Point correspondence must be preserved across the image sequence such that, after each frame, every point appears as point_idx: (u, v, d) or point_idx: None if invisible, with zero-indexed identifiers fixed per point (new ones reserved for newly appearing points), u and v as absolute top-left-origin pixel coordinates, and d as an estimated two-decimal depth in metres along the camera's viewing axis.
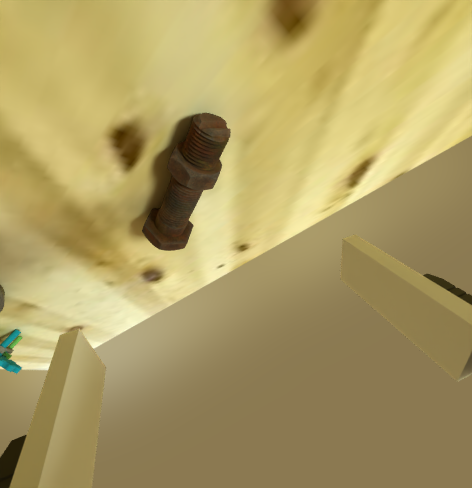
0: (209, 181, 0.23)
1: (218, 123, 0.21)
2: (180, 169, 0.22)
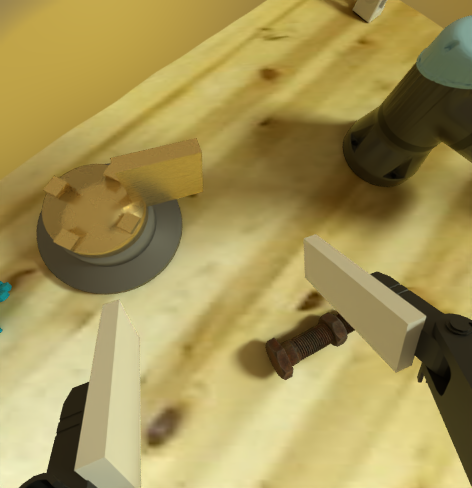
0: (343, 332, 0.39)
1: None
2: (332, 317, 0.40)
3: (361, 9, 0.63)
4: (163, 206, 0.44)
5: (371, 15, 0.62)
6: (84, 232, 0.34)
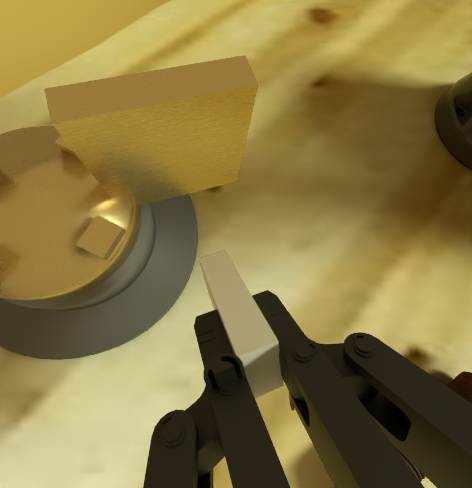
0: None
1: None
2: None
3: None
4: (167, 205, 0.27)
5: None
6: (10, 256, 0.17)
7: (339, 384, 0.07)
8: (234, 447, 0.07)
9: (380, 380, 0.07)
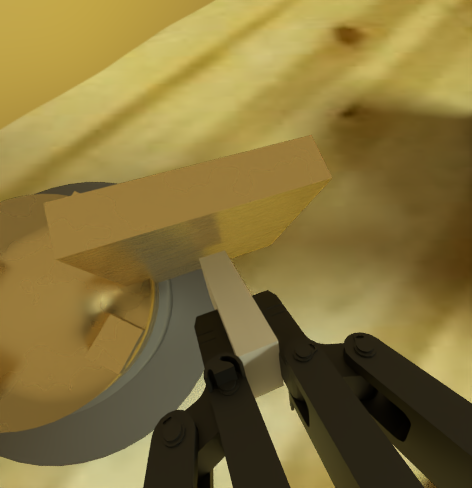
0: None
1: None
2: None
3: None
4: None
5: None
6: (1, 373, 0.14)
7: (339, 384, 0.07)
8: (234, 447, 0.07)
9: (380, 380, 0.07)
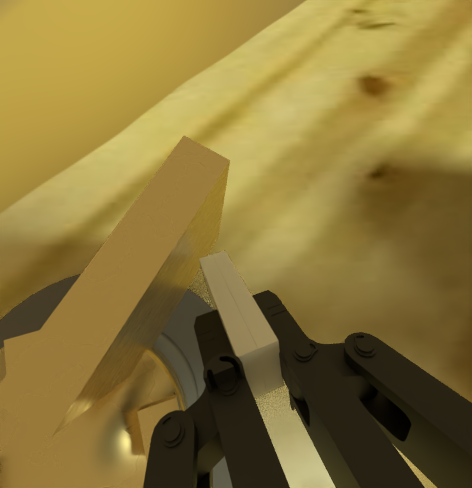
0: None
1: None
2: None
3: None
4: None
5: None
6: None
7: (339, 384, 0.07)
8: (234, 447, 0.07)
9: (380, 380, 0.07)
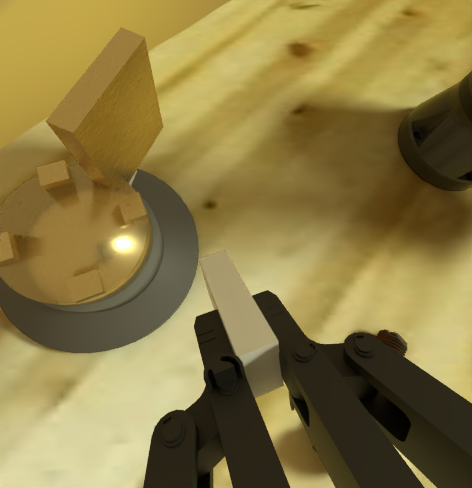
0: None
1: None
2: None
3: None
4: (172, 222, 0.32)
5: None
6: (94, 263, 0.23)
7: (339, 384, 0.07)
8: (234, 447, 0.07)
9: (380, 380, 0.07)
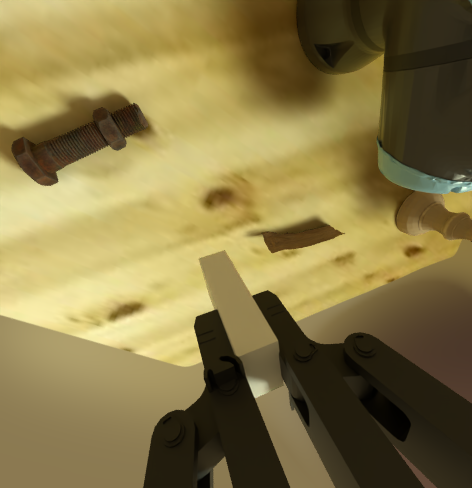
0: (114, 135, 0.32)
1: None
2: (103, 113, 0.31)
3: None
4: None
5: None
6: None
7: (339, 384, 0.07)
8: (234, 447, 0.07)
9: (380, 380, 0.07)
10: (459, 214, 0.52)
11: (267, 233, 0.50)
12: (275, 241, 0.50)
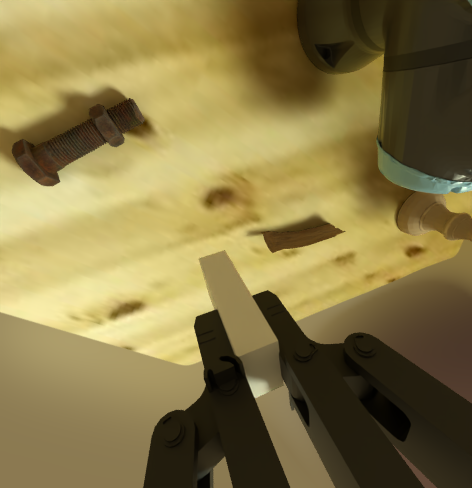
0: (111, 131, 0.32)
1: None
2: (99, 110, 0.31)
3: None
4: None
5: None
6: None
7: (339, 384, 0.07)
8: (234, 447, 0.07)
9: (380, 380, 0.07)
10: (460, 214, 0.52)
11: (267, 233, 0.50)
12: (275, 241, 0.50)
